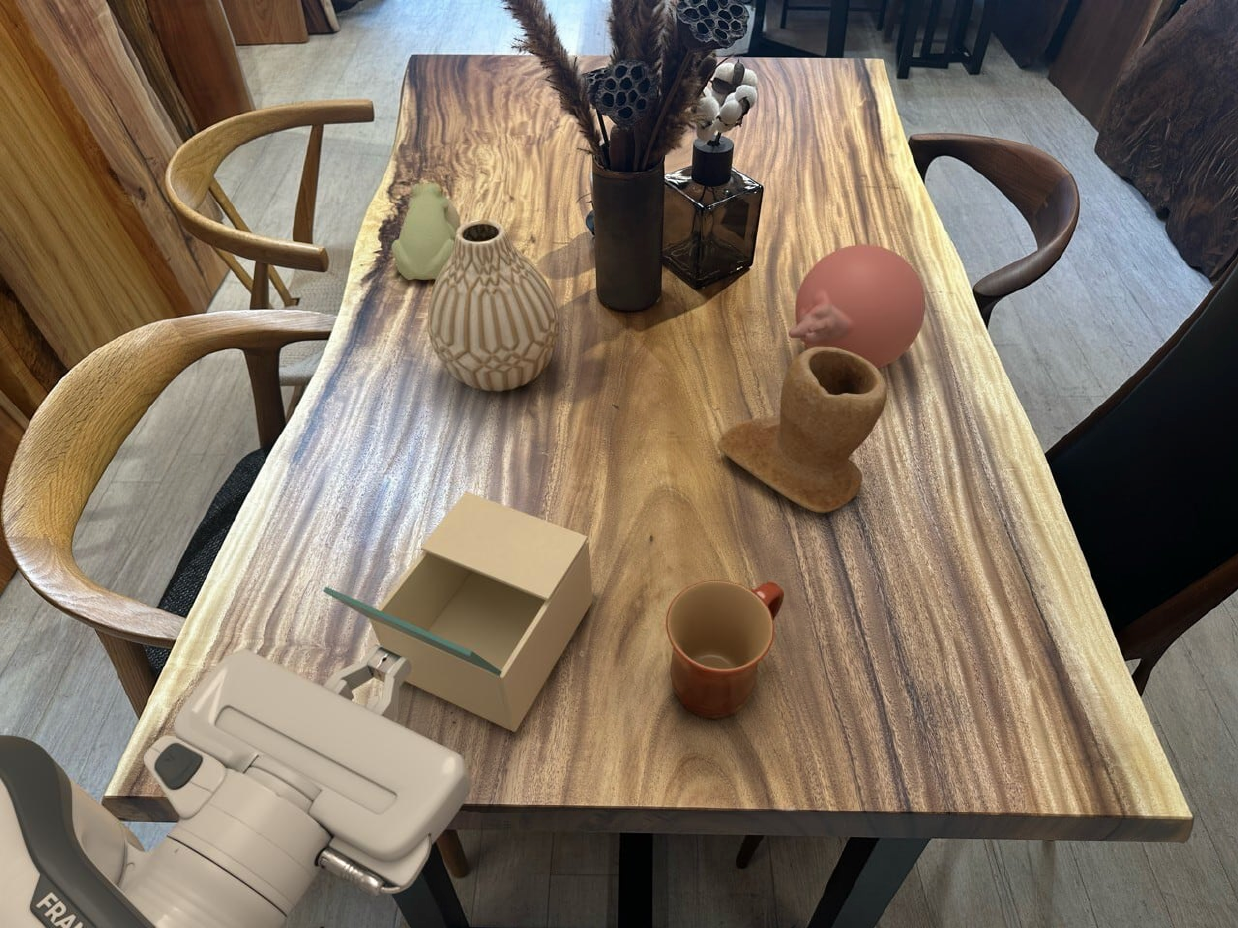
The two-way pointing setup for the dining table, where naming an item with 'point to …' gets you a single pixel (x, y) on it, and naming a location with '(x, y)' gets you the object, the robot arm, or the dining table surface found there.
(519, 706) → the carton
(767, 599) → the mug
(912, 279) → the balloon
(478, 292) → the vase
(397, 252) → the figurine
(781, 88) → the dining table surface
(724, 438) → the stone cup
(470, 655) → the flap
